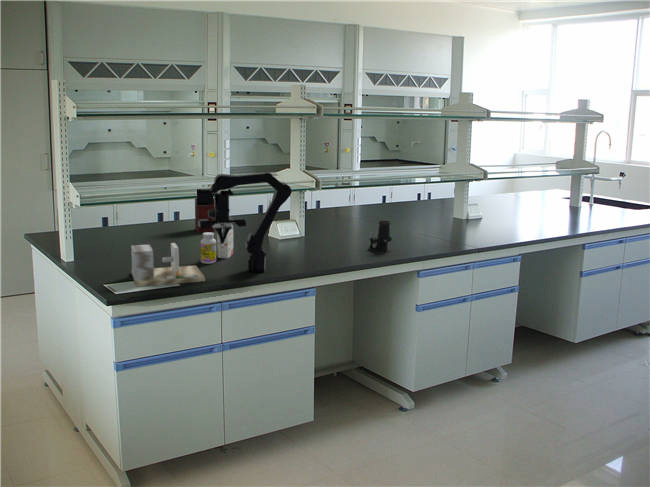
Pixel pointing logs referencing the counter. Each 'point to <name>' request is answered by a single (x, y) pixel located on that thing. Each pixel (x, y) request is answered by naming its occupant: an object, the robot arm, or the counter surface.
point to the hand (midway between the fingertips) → (222, 243)
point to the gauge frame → (158, 270)
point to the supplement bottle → (208, 248)
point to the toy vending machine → (203, 216)
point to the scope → (381, 237)
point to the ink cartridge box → (226, 245)
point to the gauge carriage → (173, 259)
